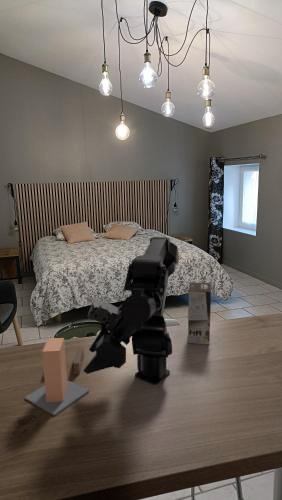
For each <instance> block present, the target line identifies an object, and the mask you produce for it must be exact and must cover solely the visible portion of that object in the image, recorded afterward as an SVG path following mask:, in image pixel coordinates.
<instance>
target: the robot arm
mask: <svg viewBox="0 0 282 500" xmlns="http://www.w3.org/2000/svg"><path fill="white" fill-rule="evenodd" d="M179 254H180V253H179V249H178V246H177V245H176V244H175V243H173V242H171V239H170V237H167V236H153V237H150V238H149V244H148V245H147V248H146V250H145V251H144V253H143V254H141V255H137V256H135V257H134V258H133V259H132V261H131V263H129V264H128V268H127V273H126V278H125V282H124V288H123V290H124V291H125V292H126V291H127V292H130V295H129V296H127V297H126V298H125V299H124V300H123V302H122V303H121V304H120V305H119V306H118V307H117V306H115V305H114V304H111V303H110V302H107V301H104V300H102V299H100V298H94V299H93V301H92V303H91V305H90V308H89V311H88V313H87V318H88V319H89V320H91V321H96V322H98V323H100V330H99V332H98V334H97V336H96V337H95V339H94V340H93V342H92V344H91V345H90V347H89V349H88V350H89V351H90V352H91V353H94V355H93V356H92V358H91V359H90V360H89V362H88V363H87V365H86V366H85V368H84V369H83V372H84V374H92V373H95V372H99V371H102V370H105V369H110V368H115V369H121V368H122V366H124V365H125V364H126V363H127V348H126V347H125V345H126V346H127V345H128V344H129V343H131V346H132V353H133V356H134V355H137V356H136V357H137V358H136V360H137V362H136V363H137V366H136V367H137V371H136V373H135V374H134V377H135V378H137V379H140V380H143V381H145V382H148V383H151V384H152V385H158V384H159V383H160V382H162V380H164V379H165V378H166V377H167V376H168V375H169V374H170V373H171V370H169V369H167V358H168V359H169V356H171V355H172V354H173V343H172V339H171V337H170V333H169V332H168V330H167V323H166V321H165V318H164V311H165V305H166V304H165V303H166V297H167V290H168V283H169V277H171V276H172V274H174V273H175V272H176V269H177V267H176V265H179ZM122 343H123V344H124V345H123V344H122Z"/></svg>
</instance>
